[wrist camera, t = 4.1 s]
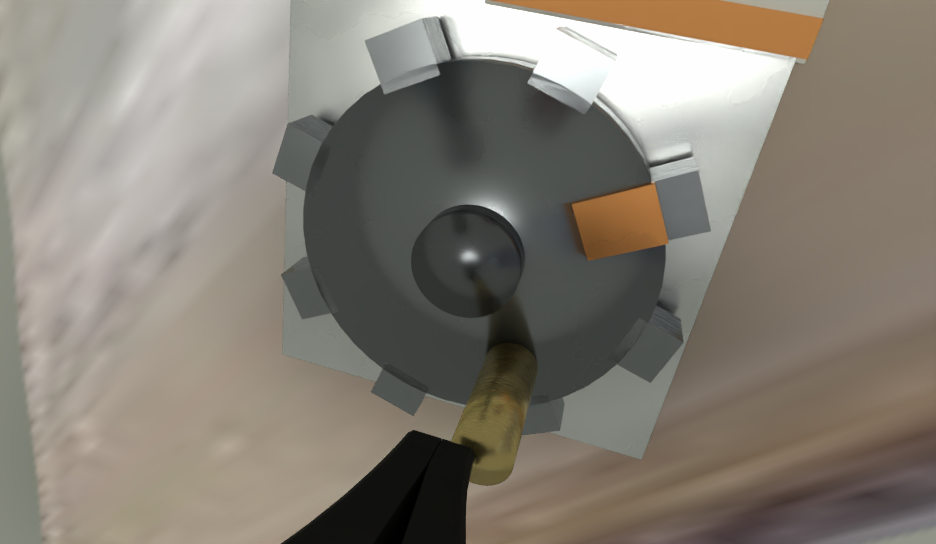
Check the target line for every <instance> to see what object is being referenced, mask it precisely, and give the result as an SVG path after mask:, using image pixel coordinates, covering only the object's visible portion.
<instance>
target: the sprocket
mask: <svg viewBox="0 0 936 544" xmlns="http://www.w3.org/2000/svg"><path fill="white" fill-rule="evenodd" d="M365 44H366V46H367V49H368V52H369V54H370V57H371V60H372V62H373V65H374V68H375V71H376V73H377V76H378V79H379V81H380V85H378V86H377V87H375V88H374V89H372V90H371V91H369V92H367V93H366V94H364V95H363V96H362V97H361V98H360V99H359V100H357V101H356V102H355V103H354V104H353V105H352V106H351V107H349V108H348V109H347V110H346V111H345V113H344V114H343V115H342V116H341V117H340V118H339V120H338V121H337V122H336V123H335V124H334V126H331V125H329V124H328V123H326V122H324V121H322V120H320V119H319V118H317V117H315V116H313V115H309V116H306V117H304V118H301V119H298V120H296V121H293V122H290V123H288V125H287V128H286V131H285V135H284V138H283V141H282V144H281V147H280V150H279V154H278V157H277V160H276V163H275V166H274V169H273V174H275V175H277V176H278V177H280V178H282V179H284V180H286V181H287V182H289V183H291V184H293V185H295V186H296V187H298V188H300V189H302V190H304V191H305V199H304V207H303V231H304V239H305V247H306V253H307V257H303V258H301V259H300V260H299V261H298V262H296V263H295V264H294V265H293V266H291V267H290V268H289V269H288V270H286V271H285V272H284V273H283V274H281V276H282V278H283V280H284V282H285V284H286V286H287V288H288V291H289V293H290V295H291V297H292V299H293V301H294V303H295V305H296V308H297V310H298V312H299V314H300V316H301V318H302V319H307V318H311V317H316V316H321V315H325V314H330V313H331V314H332V315H333V317H334V318H335V320H336V321H337V323H338V324H339V326H340V327H341V329H342V330H343V331H344V332H345V333H346V334H347V336H348V337H349V338H350V339H351V340H352V342H353V343H354V344H355V345H356V346H357V347H358V348H359V349H360V350H361V351H362V352H363V353H364V354H366V355H367V356H368V357H369V358H370V359H371V360H372V361H374V362H375V363H376V364H377V365H379V366H380V367H381V368H383V369H382V371H381V373H380V375H379V377H378V379H377V381H376V383H375V385H374V387H373V389H372V391H371V392H372V393H374V394H375V395H377V396H379V397H381V398H383V399H384V400H386V401H388V402H390V403H391V404H393V405H395V406H397V407H399V408H400V409H402V410H404V411H406V412H407V413H409V414H411V415H413V416H414V414H415V412H416V411H417V409H418V407H419V405H420V404H421V402H422V400H423V398H424V397H425V395H426V393H427V394H430V395H433V396H435V397H438V398H441V399H444V400H448V401H452V402H456V403H460V404H464V405H466V406H465V409H464V411H463V414H462V416H461V419H460V421H459V423H458V426H457V428H456V431H455V433H454V436H453V438H452V441H451V442H454V443H457V444H461V445H464V446H467V447H470V448H472V450H473V451H474V453H475V457H474V462H473V466H472V471H471V475H470V480H469V482H472V483H475V484H478V485H486V486H488V485H496V484H499V483H501V482H503V481H505V480H506V479H507V478H508V477H509V476H510V474H511V472H512V470H513V466H514V462H515V458H516V454H517V450H518V447H519V443H520V439H521V435H528V434H536V433H545V432H553V431H560V428H561V423H562V417H563V411H564V405H565V403H564V400H563V397H565V396H568V395H570V394H572V393H574V392H576V391H578V390H580V389H582V388H585V387H586V386H588V385H590V384H591V383H593V382H594V381H596V380H597V379H599V378H600V377H602V376H604V375H605V374H606V373H607V372H608V371H609V370H611V369H612V368H613V367H614V366H615V365H616V364H617V365H619V366H620V367H622V368H624V369H626V370H628V371H629V372H631V373H633V374H635V375H637V376H638V377H640V378H642V379H644V380H646V381H647V382H649V383H651V382H652V381H653V379H654V378H655V377H656V376H657V375H658V373H659V372H660V371H661V370H662V369H663V367H664V366H665V365H666V364H667V362H668V361H669V360H670V359H671V358H672V356H673V355H674V354H675V353H676V351H677V350H678V349H679V348H680V347H681V345H682V344H683V343H684V341H683V334H682V326H681V319H680V318H678V317H677V316H675V315H673V314H671V313H669V312H668V311H666V310H664V309H662V308H660V307H659V306H657V301H658V298H659V294H660V291H661V288H662V284H663V277H664V270H665V263H666V244H669V242H668V240H673V239H677V238H682V237H687V236H691V235H696V234H701V233H705V232H710V231H711V228H710V224H709V219H708V214H707V209H706V204H705V200H704V195H703V190H702V185H701V181H700V176H699V171H698V168H697V165H696V162H695V159H694V157H690V158H686V159H682V160H678V161H674V162H670V163H667V164H663V165H659V166H655V167H651V168H650V166H649V164H648V162H647V160H646V158H645V156H644V154H643V151H642V149H641V148H640V146H639V145H638V143H637V142H636V140H635V139H634V137H633V136H632V134H631V133H630V131H629V130H628V128H627V127H626V126H625V125H624V124H623V123H622V122H621V121H620V119H619V118H618V117H617V116H616V115H615V114H614V113H613V112H612V110H611V109H610V108H608V107H607V106H606V105H605V104H604V103H603V102H601V101H600V100H599V99H598V98H597V97H596V96H597V94H598V92H599V90H600V89H601V87H602V85H603V83H604V82H605V80H606V78H607V76H608V75H609V73H610V71H611V69H612V68H613V66H614V64H615V62H616V60H617V56H616V55H614V54H613V53H611V52H609V51H607V50H605V49H603V48H602V47H600V46H598V45H596V44H594V43H592V42H591V41H589V40H587V39H585V38H583V37H581V36H580V35H578V34H576V33H574V32H572V31H570V30H569V29H567V28H565V27H563V26H559V27H557V28H555V30H554V32H553V34H552V36H551V38H550V39H549V41H548V43H547V45H546V47H545V49H544V51H543V53H542V55H541V57H540V59H539V61H538V63H537V65H535V64H531V63H528V62H525V61H522V60H516V59H509V58H503V57H497V56H467V57H460V58H452V59H451V56H450V53H449V50H448V47H447V44H446V41H445V38H444V35H443V32H442V29H441V26H440V22H439V19H438V16H436V17H428V18H421V19H418V20H416V21H413V22H411V23H408V24H406V25H403V26H400V27H398V28H395V29H393V30H390V31H388V32H385V33H383V34H380V35H378V36H375V37H372V38H370V39H367V40H365Z"/></svg>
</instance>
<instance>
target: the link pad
mask: <svg viewBox="0 0 936 544" xmlns="http://www.w3.org/2000/svg"><path fill="white" fill-rule="evenodd" d="M829 1H830V0H485V3H484V4H488V5H493V6H498V7H504V8H509V9H514V10H521V11H525V12H530V13H533V12H534V13H536V14H541V15H546V16H547V15H548V16H552V17H557V18H562V19H567V20H574V21H578V22H580V21H582V22H583V23H589V22H590V23H589V24H592V23H593V22H594V23H593V24H594V25H599V26H603V25H605V27H609V26H610V25H611V26H610V28H615V27H616V26H617V27H618V28H617V27H616V28H617V29H619V28H620V29H621V30H623V29H624V30H626V29H627V30H626V31H629V30H630V31H631V32H633V31H635V32H637V33H642V34H643V33H644V34H645V33H646V32H647V33H646V34H648V35H652V36H656V35H657V36H658V37H661V36H662V37H663V38H668V39H675V40H676V38H675V37H676V36H675V35H678V36H682V37H683V36H684V37H688V38H692V39H694V38H695V39H696V40H697V39H700V40H701V41H702V40H705V41H708V42H707V43H709V41H711V42H716V43H721V44H727V45H732V46H733V47H734V46H737V47H739V48H740V49H741V47H743V49H744V48H748V49H750V50H751V49H753V50H759V51H760V52H761V51H764V52H767V53H768V52H769V53H771V54H773V53H775V54H780V55H785V56H791V57H796V60H795V62H796V63H801V64H805V62H806V59H807V60H808V57H809V55H810V52H811V50H812V47H813V45H814V42H815V40H816V37H817V35H818V32H819V30H820V27H821V24H822V22H823V16H824V13H825V11H826V8H827V6H828V3H829ZM500 2H501V3H500ZM503 5H504V6H503ZM518 6H519V7H518ZM524 9H525V10H524ZM530 9H531V10H530ZM537 9H538V10H537ZM538 11H539V12H538ZM542 13H543V14H542ZM553 13H554V14H555V15H554V14H553ZM560 16H561V17H560ZM562 16H563V17H562ZM567 16H568V17H567ZM566 17H567V18H566ZM570 17H571V19H570ZM577 17H578V18H577ZM573 18H574V19H573ZM580 19H581V20H580ZM583 20H584V21H583ZM599 21H600V22H599ZM601 23H602V25H601ZM608 23H609V25H608ZM612 23H614V24H612ZM618 24H620V25H618ZM612 25H613V26H612ZM621 25H622V26H621ZM623 25H625V26H623ZM627 26H630V28H631V27H635V28H636V29H633V28H631V29H632V30H633V31H632V30H631V29H630V28H629V27H627ZM616 28H615V29H616ZM637 28H641V29H643V30H644V29H646V30H647V31H646V30H644V31H643V30H642V31H641V29H640V30H639V29H637ZM637 30H639V31H640V32H639V31H637ZM648 30H649V31H650V30H651V31H652V32H653V31H657V33H658V32H662V33H664V34H665V33H668V34H670V36H671V34H673V35H674V36H675V37H674V38H670V37H667V35H666V34H665V35H666V36H663V35H661V36H660V34H657V33H656V32H654V33H653V34H652V33H651V34H650V33H649V32H648ZM662 33H661V34H662ZM678 36H677V37H678ZM678 39H679V38H678ZM678 39H677V40H678ZM681 39H682V38H681ZM682 40H683V39H682ZM682 40H681V41H682ZM690 40H691V39H690ZM690 40H689V41H690ZM696 40H695V41H696ZM700 40H699V41H700ZM679 41H680V40H679ZM683 41H684V40H683ZM691 41H692V40H691ZM691 41H690V42H691ZM705 41H704V42H705ZM685 42H686V41H685ZM697 43H698V42H697ZM701 43H702V42H701ZM699 44H700V43H699ZM705 44H706V42H705ZM712 44H713V43H712ZM714 44H715V43H714ZM701 45H703V44H701ZM718 45H719V44H718ZM727 45H726V46H727ZM708 46H710V44H708ZM719 46H720V45H719ZM712 47H713V46H712ZM715 47H716V46H715ZM721 47H722V49H723V46H721ZM727 47H728V46H727ZM730 48H732V47H730ZM735 49H736V48H735ZM740 49H739V50H740ZM743 49H742V50H743ZM729 50H730V49H729ZM731 50H732V49H731ZM733 50H734V49H733ZM737 51H738V50H737ZM743 51H744V50H743ZM744 52H745V51H744ZM748 52H750V51H748ZM756 53H758V52H756ZM775 54H773V55H775ZM759 55H760V54H759ZM763 56H765V55H763ZM768 56H769V55H768ZM770 57H771V56H770ZM770 57H769V58H770ZM783 57H784V56H783ZM777 58H778V57H777ZM782 59H783V58H782ZM791 59H792V58H791ZM791 62H792V61H791Z"/></svg>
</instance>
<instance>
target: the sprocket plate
mask: <svg viewBox="0 0 936 544" xmlns="http://www.w3.org/2000/svg"><path fill="white" fill-rule="evenodd" d="M484 3H485V0H291V10H290V51H289V93H288V123H290V122H293V121H296V120H298V119H301V118H304V117H306V116H309V115H313V116H315V117H317V118H319V119H320V120H322V121H324V122H326V123H328V124H329V125H331V126H334V124H335V123H336V122H337V121H338V120H339V118H340V117H341V116H342V115H343V114H344V113H345V111H346V110H347V109H348V108H349V107H351V106H352V105H353V104H354V103H355V102H356V101H357V100H359V99H360V98H361V97H362V96H363V95H364V94H366V93H367V92H369V91H371V90H372V89H374V88H375V87H377V86H378V85H380V81H379V79H378V76H377V73H376V71H375V68H374V65H373V62H372V60H371V57H370V54H369V52H368V49H367V46H366V44H365V40H367V39H370V38H372V37H375V36H378V35H380V34H383V33H385V32H388V31H390V30H393V29H395V28H398V27H400V26H403V25H406V24H408V23H411V22H413V21H416V20H418V19H421V18H428V17H436V16H438V19H439V22H440V26H441V29H442V32H443V35H444V38H445V41H446V44H447V47H448V50H449V53H450V56H451V59H452V58H460V57H467V56H497V57H503V58H509V59H516V60H522V61H525V62H528V63H531V64H535V65H537V63H538V61H539V59H540V57H541V55H542V53H543V51H544V49H545V47H546V45H547V43H548V41H549V39H550V38H551V36H552V34H553V32H554V30H555V28H557V27H559V26H563V27H565V28H567V29H569V30H570V31H572V32H574V33H576V34H578V35H580V36H581V37H583V38H585V39H587V40H589V41H591V42H592V43H594V44H596V45H598V46H600V47H602V48H603V49H605V50H607V51H609V52H611V53H613V54H614V55H616V56H617V60H616V62H615V64H614V66H613V68H612V69H611V71H610V73H609V75H608V76H607V78H606V80H605V82H604V83H603V85H602V87H601V89H600V90H599V92H598V94H597V96H596V97H597V98H598V99H599V100H600V101H601V102H603V103H604V104H605V105H606V106H607V107H608V108H610V109H611V110H612V112H613V113H614V114H615V115H616V116H617V117H618V118H619V119H620V121H621V122H622V123H623V124H624V125H625V126H626V127H627V128H628V130H629V131H630V133H631V134H632V136H633V137H634V139H635V140H636V142H637V143H638V145H639V146H640V148H641V149H642V151H643V154H644V156H645V158H646V160H647V162H648V164H649V166H650V168H651V167H655V166H659V165H663V164H667V163H670V162H674V161H678V160H682V159H686V158H690V157H694V159H695V162H696V165H697V168H698V171H699V176H700V181H701V185H702V190H703V195H704V200H705V204H706V209H707V214H708V219H709V224H710V228H711V231H710V232H705V233H701V234H696V235H691V236H687V237H682V238H677V239H673V240H668V242H669V244H666V263H665V270H664V277H663V284H662V288H661V291H660V294H659V298H658V301H657V306H659V307H660V308H662V309H664V310H666V311H668V312H669V313H671V314H673V315H675V316H677V317H678V318H680V319H681V326H682V334H683V341H684V343H683V344H682V345H681V347H680V348H679V349H678V350H677V351H676V353H675V354H674V355H673V356H672V358H671V359H670V360H669V361H668V362H667V364H666V365H665V366H664V367H663V369H662V370H661V371H660V372H659V373H658V375H657V376H656V377H655V378H654V379H653V381H652V382H651V383H649V382H647V381H646V380H644V379H642V378H640V377H638V376H637V375H635V374H633V373H631V372H629V371H628V370H626V369H624V368H622V367H620V366H619V365H617V364H616V365H615V366H614V367H613V368H612V369H611V370H609V371H608V372H607V373H606V374H605V375H604V376H602V377H600V378H599V379H597V380H596V381H594V382H593V383H591V384H590V385H588V386H586V387H585V388H582V389H580V390H578V391H576V392H574V393H572V394H570V395H568V396H565V397H563V400H564V403H565V405H564V411H563V417H562V423H561V428H560V431H553V432H549V433H552V434H556V435H559V436H563V437H566V438H569V439H573V440H576V441H580V442H583V443H586V444H590V445H593V446H597V447H600V448H604V449H607V450H610V451H614V452H617V453H621V454H624V455H627V456H631V457H634V458H638V459H641V460H642V457H643V455H644V452H645V449H646V447H647V444H648V442H649V439H650V436H651V434H652V431H653V429H654V426H655V423H656V421H657V418H658V416H659V413H660V411H661V408H662V405H663V403H664V400H665V398H666V395H667V392H668V390H669V387H670V385H671V382H672V379H673V377H674V374H675V372H676V369H677V366H678V364H679V361H680V359H681V356H682V353H683V351H684V348H685V346H686V343H687V340H688V338H689V335H690V333H691V330H692V327H693V325H694V322H695V320H696V317H697V314H698V312H699V309H700V307H701V304H702V301H703V299H704V296H705V294H706V291H707V288H708V286H709V283H710V281H711V278H712V276H713V273H714V270H715V268H716V265H717V263H718V260H719V257H720V255H721V252H722V250H723V247H724V244H725V242H726V239H727V237H728V234H729V231H730V229H731V226H732V224H733V221H734V218H735V216H736V213H737V211H738V208H739V205H740V203H741V200H742V198H743V195H744V192H745V190H746V187H747V185H748V182H749V179H750V177H751V174H752V172H753V169H754V166H755V164H756V161H757V159H758V156H759V153H760V151H761V148H762V146H763V143H764V141H765V138H766V135H767V133H768V130H769V128H770V125H771V122H772V120H773V117H774V115H775V112H776V109H777V107H778V104H779V102H780V99H781V96H782V94H783V91H784V89H785V86H786V83H787V81H788V78H789V76H790V73H791V70H792V68H793V65H794V63H795V60H796V57H791V56H785V55H780V54H775V53H773V54H775V55H773V54H771V53H769V52H768V53H767V52H764V51H761V52H760V51H759V50H753V49H751V50H750V49H748V48H744V49H743V47H741V49H740V48H739V47H737V46H734V47H733V46H732V45H727V44H721V43H716V42H711V41H709V43H707V42H708V41H705V40H702V41H701V40H700V39H697V40H696V39H695V38H694V39H692V38H688V37H684V36H683V37H682V36H678V35H675V36H676V37H675V36H674V35H673V34H671V36H670V34H668V33H665V34H666V35H667V37H670V38H674V37H675V38H676V40H675V39H668V38H663V37H662V36H661V35H663V36H666V35H665V34H664V33H662V32H658V33H657V31H653V32H652V31H651V30H650V31H649V30H648V32H649V33H650V34H651V33H652V34H653V33H654V32H656V33H657V34H660V36H661V37H658V36H657V35H656V36H652V35H648V34H646V33H647V32H646V33H645V34H644V33H643V34H642V33H637V32H635V31H633V30H632V29H631V28H633V29H636V28H635V27H631V28H630V26H627V27H629V28H630V29H631V30H632V31H633V32H631V31H630V30H629V31H626V30H627V29H626V30H624V29H623V30H621V29H620V28H619V29H617V28H618V27H617V26H616V27H617V28H616V27H615V28H616V29H615V28H610V26H611V25H610V26H609V27H605V25H603V26H599V25H594V24H593V23H594V22H593V23H592V24H589V23H590V22H589V23H583V22H582V21H580V22H578V21H574V20H567V19H562V18H557V17H552V16H548V15H547V16H546V15H541V14H536V13H534V12H533V13H530V12H525V11H521V10H514V9H509V8H504V7H498V6H493V5H488V4H484ZM500 3H501V2H500ZM503 6H504V5H503ZM518 7H519V6H518ZM524 10H525V9H524ZM530 10H531V9H530ZM537 10H538V9H537ZM538 12H539V11H538ZM542 14H543V13H542ZM553 14H554V13H553ZM554 15H555V14H554ZM560 17H561V16H560ZM562 17H563V16H562ZM567 17H568V16H567ZM567 17H566V18H567ZM577 18H578V17H577ZM570 19H571V17H570ZM573 19H574V18H573ZM580 20H581V19H580ZM583 21H584V20H583ZM599 22H600V21H599ZM612 24H614V23H612ZM601 25H602V23H601ZM608 25H609V23H608ZM618 25H620V24H618ZM612 26H613V25H612ZM621 26H622V25H621ZM623 26H625V25H623ZM637 29H639V30H640V29H641V28H637ZM639 30H637V31H639ZM642 30H643V29H641V31H642ZM644 30H646V29H644ZM644 30H643V31H644ZM646 31H647V30H646ZM639 32H640V31H639ZM661 33H662V34H661ZM677 36H678V37H677ZM678 38H679V39H678ZM681 38H682V39H683V40H684V41H683V40H682V39H681ZM677 39H678V40H677ZM690 39H691V40H692V41H691V40H690ZM679 40H680V41H679ZM681 40H682V41H681ZM689 40H690V41H691V42H690V41H689ZM695 40H696V41H695ZM699 40H700V41H699ZM685 41H686V42H685ZM704 41H705V42H706V44H705V42H704ZM697 42H698V43H697ZM701 42H702V43H701ZM699 43H700V44H699ZM712 43H713V44H712ZM714 43H715V44H714ZM701 44H703V45H701ZM708 44H710V46H708ZM718 44H719V45H720V46H719V45H718ZM726 45H727V46H728V47H727V46H726ZM712 46H713V47H712ZM715 46H716V47H715ZM721 46H723V49H722V47H721ZM730 47H732V48H730ZM735 48H736V49H735ZM729 49H730V50H729ZM731 49H732V50H731ZM733 49H734V50H733ZM739 49H740V50H739ZM742 49H743V50H744V51H745V52H744V51H743V50H742ZM737 50H738V51H737ZM748 51H750V52H748ZM756 52H758V53H756ZM759 54H760V55H759ZM763 55H765V56H763ZM768 55H769V56H768ZM770 56H771V57H770ZM783 56H784V57H783ZM769 57H770V58H769ZM777 57H778V58H777ZM782 58H783V59H782ZM791 58H792V59H791ZM791 61H792V62H791ZM304 199H305V191H304V190H302V189H300V188H298V187H296V186H295V185H293V184H291V183H289V182H287V181H286V219H285V261H284V272H285V271H286V270H288V269H289V268H290V267H291V266H293V265H294V264H295V263H296V262H298V261H299V260H300V259H301V258H303V257H307V253H306V247H305V239H304V231H303V207H304ZM282 354H283V355H287V356H290V357H293V358H297V359H300V360H304V361H307V362H310V363H314V364H317V365H321V366H324V367H327V368H331V369H334V370H338V371H341V372H345V373H348V374H351V375H355V376H358V377H362V378H365V379H368V380H372V381H375V382H376V381H377V379H378V377H379V375H380V373H381V371H382V369H383V368H381V367H380V366H379V365H377V364H376V363H375V362H374V361H372V360H371V359H370V358H369V357H368V356H367V355H366V354H364V353H363V352H362V351H361V350H360V349H359V348H358V347H357V346H356V345H355V344H354V343H353V342H352V340H351V339H350V338H349V337H348V336H347V334H346V333H345V332H344V331H343V330H342V329H341V327H340V326H339V324H338V323H337V321H336V320H335V318H334V317H333V315H332V314H331V313H330V314H325V315H321V316H316V317H311V318H307V319H302V318H301V316H300V314H299V312H298V310H297V308H296V305H295V303H294V301H293V299H292V297H291V295H290V293H289V291H288V288H287V286H286V284H285V282H284V303H283V344H282ZM425 396H426V397H430V398H433V399H437V400H440V401H443V402H447V403H450V404H454V405H457V406H460V407H464V408H465V406H466V405H464V404H460V403H456V402H452V401H448V400H444V399H441V398H438V397H435V396H433V395H430V394H427V393H426V395H425Z"/></svg>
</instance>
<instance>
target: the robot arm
mask: <svg viewBox="0 0 936 544" xmlns="http://www.w3.org/2000/svg"><path fill="white" fill-rule="evenodd" d="M474 457H475V453H474V451H473V450H472V448H470V447H467V446H464V445H461V444H457V443H454V442H451V441H448V440H444V439H442V441H441V438H438V437H435V436H431V435H428V434H425V433H422V432H418V431H415V430H413V431H411V432H408V433H407V434H406V436H405V437H404V438H403V439H402V440H401V441H400V442H399V443H398V444H397V446H396V447H395V448H394V449H393V450H392V451H391V452H390V453H389V454H388V455H387V456H386V457H385V458H384V459H383V460H382V461H381V462H380V463H379V464H378V465H377V466H376V467H375V468H374V469H373V470H372V471H371V472H369V473H368V474H367V475H366V476H365V477H364V478H363V479H362V480H361V481H359V482H358V483H357V484H356V485H355V486H354V487H353V488H352V489H351V490H349V491H348V492H347V493H346V494H345V495H344V496H343V497H341V498H340V499H339V500H338V501H336V502H335V503H334V504H333V505H331V506H330V507H329V508H328V509H326V510H325V511H324V512H323V513H321V514H320V515H319V516H318V517H316V518H315V519H314V520H313V521H311V522H310V523H309V524H307V525H306V526H305V527H303V528H302V529H301V530H299V531H298V532H297V533H295V534H294V535H292V536H291V537H290V538H288V539H287V540H285V541H284V542H282V543H281V544H466V500H467V489H468V484H469V480H470V475H471V471H472V466H473V462H474Z"/></svg>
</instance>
